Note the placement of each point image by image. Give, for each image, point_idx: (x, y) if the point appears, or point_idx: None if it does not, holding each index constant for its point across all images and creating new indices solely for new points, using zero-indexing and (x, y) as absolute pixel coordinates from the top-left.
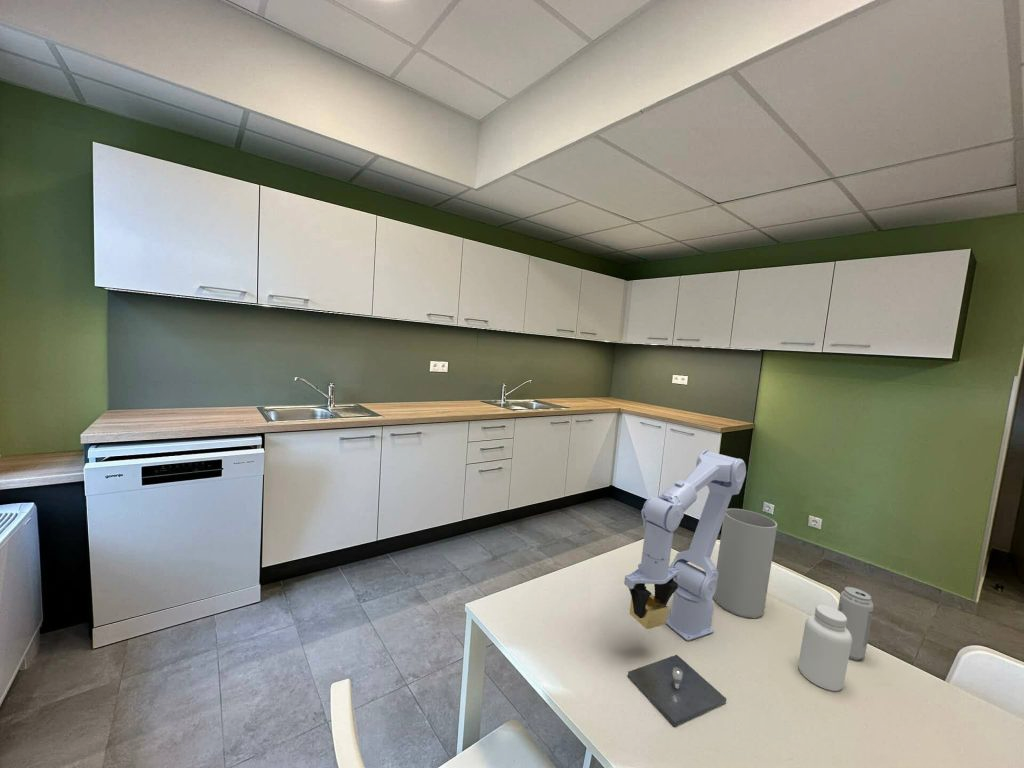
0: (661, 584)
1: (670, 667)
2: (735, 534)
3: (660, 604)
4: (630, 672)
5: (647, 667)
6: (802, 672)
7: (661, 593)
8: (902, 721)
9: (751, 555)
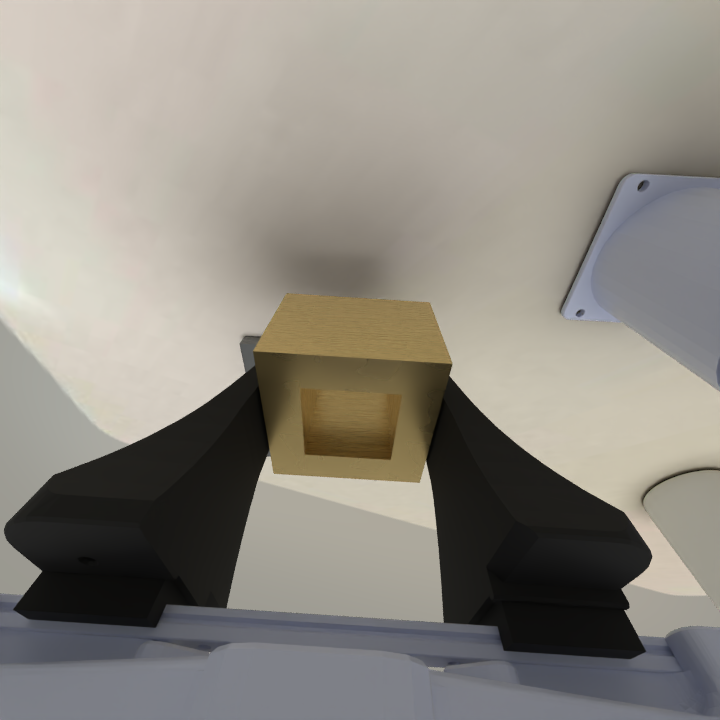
0: (466, 555)
1: None
2: None
3: (397, 460)
4: (245, 347)
5: None
6: (666, 485)
7: (444, 488)
8: None
9: None
